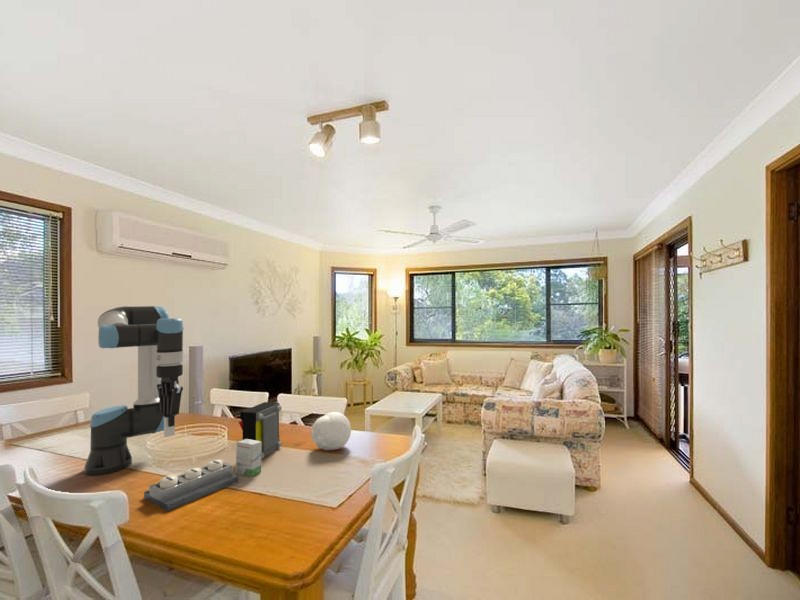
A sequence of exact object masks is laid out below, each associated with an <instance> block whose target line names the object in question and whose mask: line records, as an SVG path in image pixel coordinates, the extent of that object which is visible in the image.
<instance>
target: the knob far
mask: <svg viewBox="0 0 800 600" xmlns="http://www.w3.org/2000/svg"><path fill="white" fill-rule="evenodd" d="M223 462H224V460H223V459H214V460H210V461H208V462H207V465H208V471H211V472H213V471H216V470H218V469H221V468H223Z"/></svg>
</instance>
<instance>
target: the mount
mask: <svg viewBox="0 0 800 600" xmlns="http://www.w3.org/2000/svg"><path fill="white" fill-rule="evenodd" d="M200 468H201V476H200V477H197V478H194V479H191V480H187V479H185V472H184V473H182V474H178V475H176V476H177V477H178V482H177V485H175V486H173V487H170V488H167V489H165V490H162V489H160V481H159V482H157V483H153V484H150V485H149V486H148V490H145V491H143V498H144V499H145V500H147V501H148V502H150V503H152V504H154V505H155V506H157V507H159V508H160V509H163V510H164V511H166V512H170V511H172V510H175V509H177V508H179V507H180V508H181V507H182V506H185V505H186V504H188V503H189V504H190V503H191V502H194V501H196V500H198V499H201V498H202V497H205V496H208V495H210V494H214V493H215V492H218V491H220V490H223V489H224V488H227V487H229V486H232V485H234V484H237V483H239V476H238V475H237V474H234V473H233V465H232V464H231V463H230V464H229V463H227V462H224V461H223V468H221V469H218V470H216V471H213V472H211V471H208V464H207V465H204V466H202V467H200Z"/></svg>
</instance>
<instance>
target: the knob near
mask: <svg viewBox="0 0 800 600" xmlns="http://www.w3.org/2000/svg"><path fill="white" fill-rule="evenodd" d="M177 476H178V475H173V474H171V475H167V476H164V477H162V478H160V479H159V482H160V489H162V490H165V489H167V488H170V487H173V486H175V485H177V482H178V477H177Z"/></svg>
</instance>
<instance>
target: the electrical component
mask: <svg viewBox="0 0 800 600" xmlns="http://www.w3.org/2000/svg"><path fill="white" fill-rule="evenodd" d="M282 408H283V407H282V406H281V404H280V403H279V402H271V401H270V402H269V401H268V402H267V401H264V402H262V403H259V404H257V405H254V406H253V407H249V408H247V409H245V410H241V411H240V413H239V415H240V416H239V417H240V421H238V425H239V426H240V428H241V430H242V440H244V439H251V440H256V441H261V442H262V452H261V460H262V459H264V458H265V457H267V456H268V455H269V454H271V453H272V452H274V451H276V450H277V449H279V448H280V447H282V445H283V444H282V443H283V442H282V441H281V439H280V412H281V411H282Z"/></svg>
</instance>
